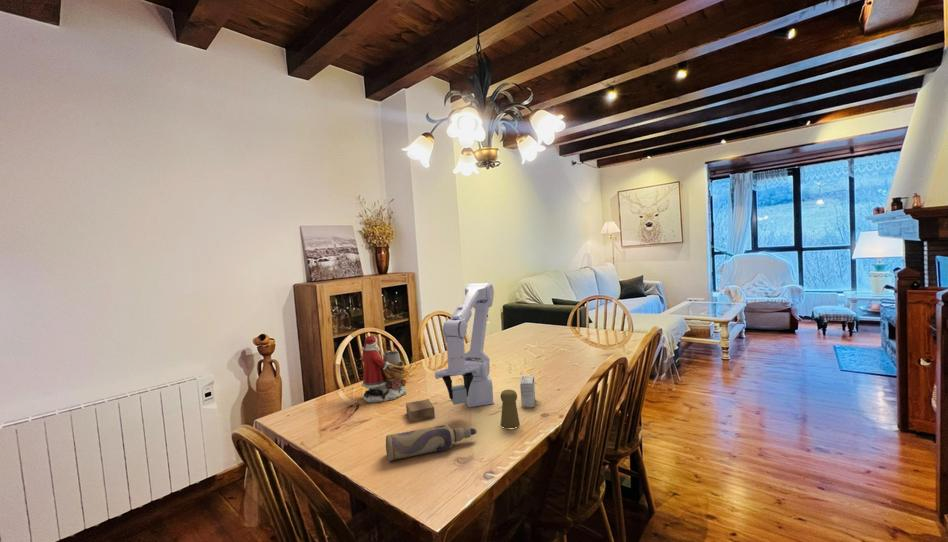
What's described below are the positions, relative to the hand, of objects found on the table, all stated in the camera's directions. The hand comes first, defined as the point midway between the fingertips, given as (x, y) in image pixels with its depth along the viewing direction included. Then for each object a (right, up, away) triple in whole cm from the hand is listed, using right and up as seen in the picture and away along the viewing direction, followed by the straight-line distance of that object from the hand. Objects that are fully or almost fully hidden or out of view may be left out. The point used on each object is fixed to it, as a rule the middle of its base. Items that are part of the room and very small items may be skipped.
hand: (458, 396), depth 129 cm
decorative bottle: (-7, -9, -20) cm, 23 cm away
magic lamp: (-28, -7, +41) cm, 50 cm away
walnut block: (-13, -8, +5) cm, 16 cm away
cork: (+16, -7, -6) cm, 19 cm away
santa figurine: (-30, -8, +26) cm, 40 cm away
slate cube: (0, -1, 0) cm, 1 cm away
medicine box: (+25, -6, +11) cm, 27 cm away
